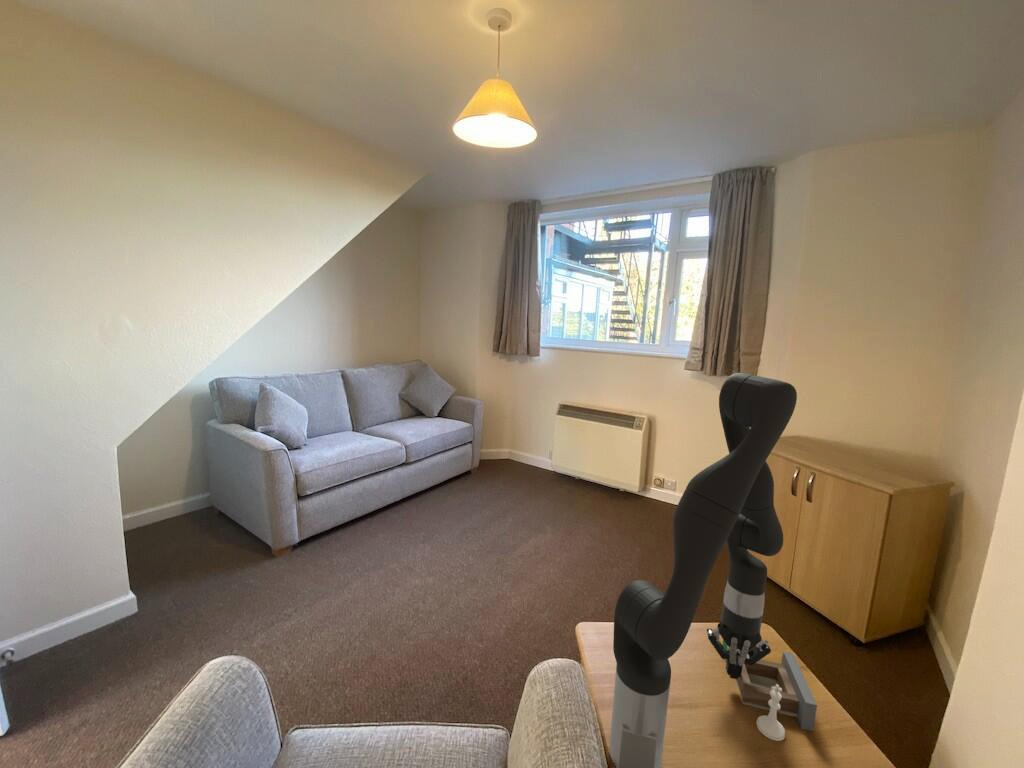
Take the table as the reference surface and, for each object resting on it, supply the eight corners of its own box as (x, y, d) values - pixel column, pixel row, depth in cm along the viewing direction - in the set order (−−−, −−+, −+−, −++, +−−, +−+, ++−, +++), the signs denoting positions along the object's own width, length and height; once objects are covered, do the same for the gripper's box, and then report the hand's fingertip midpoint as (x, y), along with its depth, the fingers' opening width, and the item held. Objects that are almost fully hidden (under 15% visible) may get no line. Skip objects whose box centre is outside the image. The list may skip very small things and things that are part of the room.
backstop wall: (812, 731, 87) (817, 705, 86) (801, 728, 88) (805, 702, 87) (789, 676, 100) (793, 653, 99) (779, 674, 101) (783, 651, 100)
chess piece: (789, 743, 84) (796, 698, 83) (761, 737, 85) (768, 693, 84) (779, 720, 89) (786, 677, 88) (753, 715, 90) (759, 672, 89)
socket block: (796, 718, 90) (798, 701, 90) (742, 705, 93) (744, 688, 92) (781, 680, 100) (783, 664, 99) (732, 669, 102) (734, 653, 102)
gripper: (712, 609, 92) (703, 681, 95) (783, 623, 89) (771, 698, 92) (707, 588, 99) (698, 656, 102) (772, 600, 96) (761, 670, 99)
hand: (732, 675), depth 97 cm, fingers closed
